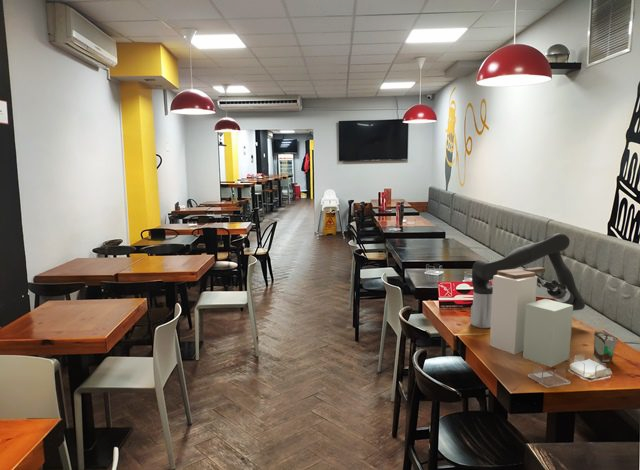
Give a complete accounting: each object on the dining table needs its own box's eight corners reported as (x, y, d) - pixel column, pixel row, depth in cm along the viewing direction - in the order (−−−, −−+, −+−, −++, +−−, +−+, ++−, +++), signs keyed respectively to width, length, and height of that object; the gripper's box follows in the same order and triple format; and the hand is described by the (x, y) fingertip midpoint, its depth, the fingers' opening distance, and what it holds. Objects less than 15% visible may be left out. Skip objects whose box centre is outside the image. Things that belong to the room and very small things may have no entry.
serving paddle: (496, 274, 206) (497, 269, 206) (533, 269, 215) (533, 265, 214) (514, 278, 197) (514, 274, 197) (551, 274, 206) (551, 269, 205)
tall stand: (489, 345, 208) (493, 275, 203) (508, 339, 216) (512, 271, 211) (514, 354, 198) (518, 280, 193) (532, 347, 206) (537, 276, 201)
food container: (620, 366, 186) (622, 342, 184) (603, 365, 187) (605, 341, 185) (608, 354, 198) (610, 331, 196) (592, 353, 199) (594, 330, 197)
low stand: (522, 357, 195) (526, 304, 191) (541, 349, 202) (544, 298, 199) (550, 367, 185) (554, 311, 182) (569, 359, 193) (573, 305, 190)
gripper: (547, 282, 231) (532, 269, 222) (576, 288, 220) (561, 275, 211) (542, 296, 230) (526, 284, 221) (571, 302, 219) (556, 290, 210)
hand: (543, 279), depth 216 cm, fingers open, 8 cm apart
